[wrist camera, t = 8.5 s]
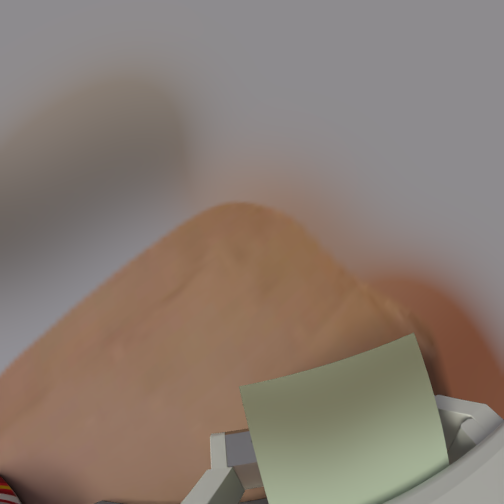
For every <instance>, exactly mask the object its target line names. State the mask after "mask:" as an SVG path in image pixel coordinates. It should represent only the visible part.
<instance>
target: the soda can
mask: <svg viewBox="0 0 504 504" xmlns="http://www.w3.org/2000/svg"><path fill="white" fill-rule="evenodd" d="M0 504H22V503H21V502H20V500H19V498H18V497H17V495H16V494H15V492H14V491H13V490H12V489H11V488H10V486H9V485H8V484H7V483H6V482H5V481H4V480H3V479H2V478H1V477H0Z"/></svg>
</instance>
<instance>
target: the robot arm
mask: <svg viewBox="0 0 504 504" xmlns="http://www.w3.org/2000/svg"><path fill="white" fill-rule="evenodd" d="M434 397H435V400H436V404H437V408H438V412H439V416H440V420H441V424H442V429H443V433H444V438H445V443H446V448H447V449H448V451H447V454H448V460H449V466H448V467H447V468H445V469H444V470H442V471H441V472H439V473H437V474H436V475H434V476H433V477H431V478H430V479H428V480H426V481H425V482H423V483H421V484H419V485H418V486H416V487H414V488H412V489H411V490H409V491H407V492H405V493H403V494H401V495H399V496H397V497H395V498H393V499H391V500H389V501H387V502H385V503H383V504H504V420H503V419H502V418H501V417H500V416H499V415H498V414H497V413H495V412H494V411H493V410H492V409H491V408H490V407H489V406H488V405H487V404H482V403H477V402H471V401H466V400H461V399H456V398H452V397H447V396H442V395H436V396H435V395H434ZM210 450H211V469H210V470H207V471H206V472H205V473H204V475H203V476H202V477H201V479H200V480H199V481H198V482H197V484H196V485H195V486H194V488H193V489H192V490H191V491H190V493H189V494H188V495H187V496H186V498H185V499H184V500H183V501H182V503H181V504H238V503H239V501H240V499H241V497H242V495H243V493H244V492H245V491H244V490H246V489H252V488H257V487H262V486H264V485H263V482H262V478H261V474H260V470H259V467H258V463H257V459H256V455H255V451H254V447H253V443H252V439H251V435H250V431H249V429H242V430H236V431H229V432H222V433H215V434H211V436H210Z"/></svg>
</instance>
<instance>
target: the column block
mask: <svg viewBox="0 0 504 504" xmlns="http://www.w3.org/2000/svg"><path fill="white" fill-rule="evenodd" d="M239 388H240V393H241V397H242V402H243V406H244V410H245V415H246V419H247V423H248V427H249V431H250V435H251V439H252V443H253V447H254V451H255V455H256V459H257V463H258V467H259V470H260V474H261V478H262V482H263V485H264V489H265V492H266V496H267V500H268V503H269V504H383V503H385V502H387V501H389V500H391V499H393V498H395V497H397V496H399V495H401V494H403V493H405V492H407V491H409V490H411V489H412V488H414V487H416V486H418V485H419V484H421V483H423V482H425V481H426V480H428V479H430V478H431V477H433V476H434V475H436V474H437V473H439V472H441V471H442V470H444V469H445V468H447V467H448V466H449V460H448V454H447V448H446V443H445V438H444V433H443V429H442V424H441V420H440V416H439V412H438V408H437V404H436V400H435V397H434V393H433V390H432V386H431V383H430V379H429V376H428V373H427V370H426V366H425V363H424V360H423V357H422V354H421V351H420V349H419V346H418V343H417V340H416V337H415V335H414V333H412V334H409V335H407V336H404V337H402V338H400V339H397V340H395V341H392V342H390V343H387V344H385V345H382V346H380V347H377V348H374V349H372V350H369V351H366V352H363V353H360V354H358V355H355V356H352V357H349V358H346V359H343V360H340V361H337V362H334V363H330V364H327V365H324V366H321V367H317V368H314V369H310V370H307V371H303V372H299V373H296V374H292V375H288V376H284V377H280V378H276V379H272V380H267V381H263V382H258V383H254V384H249V385H244V386H239Z"/></svg>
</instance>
